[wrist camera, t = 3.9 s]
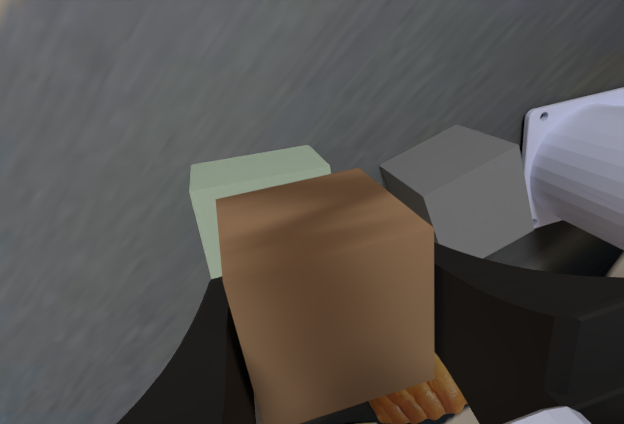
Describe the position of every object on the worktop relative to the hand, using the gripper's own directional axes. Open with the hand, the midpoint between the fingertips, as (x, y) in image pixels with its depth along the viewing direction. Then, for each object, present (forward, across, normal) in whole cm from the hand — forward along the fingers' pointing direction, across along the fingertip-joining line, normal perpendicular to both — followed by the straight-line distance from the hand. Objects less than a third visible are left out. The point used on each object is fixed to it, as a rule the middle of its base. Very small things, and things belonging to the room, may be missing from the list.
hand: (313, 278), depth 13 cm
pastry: (+9, -9, +17) cm, 21 cm away
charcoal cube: (+9, -9, +2) cm, 13 cm away
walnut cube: (+2, 0, 0) cm, 2 cm away
